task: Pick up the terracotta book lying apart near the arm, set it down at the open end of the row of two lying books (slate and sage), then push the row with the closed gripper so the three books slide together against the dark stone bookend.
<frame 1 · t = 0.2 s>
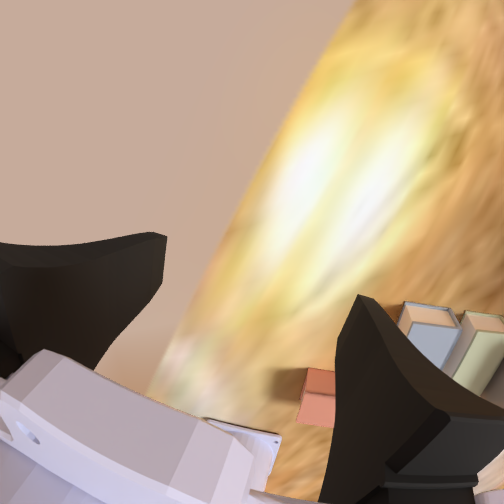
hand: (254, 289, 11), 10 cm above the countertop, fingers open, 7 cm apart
sage book: (466, 347, 21), on the countertop
slate book: (412, 341, 22), on the countertop
terracotta book: (343, 388, 25), on the countertop
stone bookend: (500, 351, 20), on the countertop
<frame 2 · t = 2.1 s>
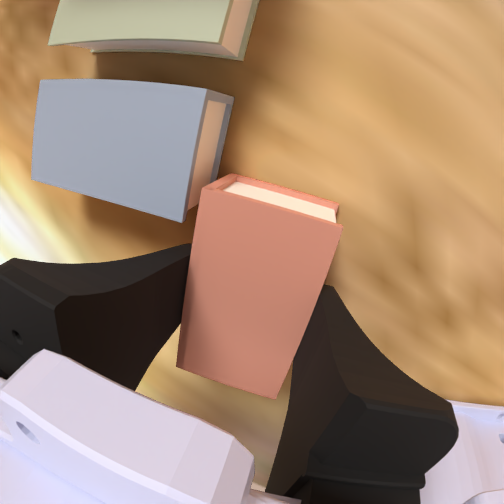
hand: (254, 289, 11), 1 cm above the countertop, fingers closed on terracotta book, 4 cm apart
sage book: (171, 9, 9), on the countertop
slate book: (143, 133, 12), on the countertop
terracotta book: (261, 272, 13), on the countertop, touching gripper
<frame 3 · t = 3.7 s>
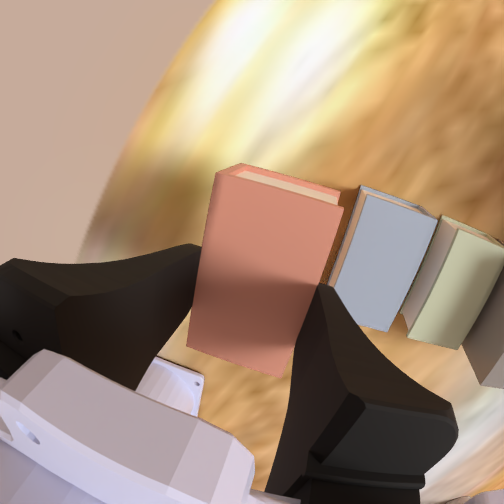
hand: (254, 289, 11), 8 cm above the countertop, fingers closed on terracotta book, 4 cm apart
sage book: (445, 273, 18), on the countertop
slate book: (372, 249, 18), on the countertop
terracotta book: (268, 256, 13), point 6 cm above the countertop, touching gripper
house plant: (460, 502, 28), on the countertop
stone bookend: (488, 290, 17), on the countertop
when the fingers open (3 cm above the countertop, at t = 4.9 s): terracotta book drops 1 cm, on the countertop.
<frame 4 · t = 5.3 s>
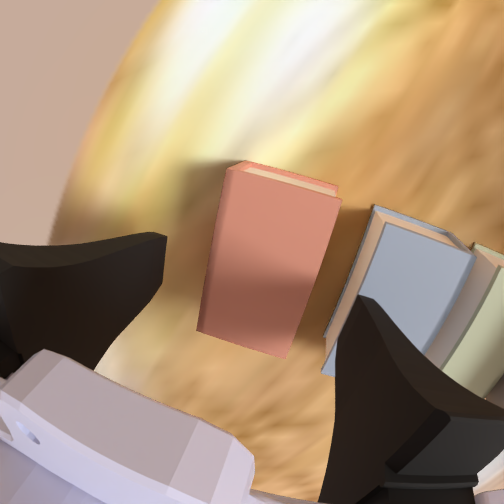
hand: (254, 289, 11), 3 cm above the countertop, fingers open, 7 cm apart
sage book: (472, 313, 13), on the countertop
slate book: (386, 286, 14), on the countertop
terracotta book: (272, 246, 15), on the countertop
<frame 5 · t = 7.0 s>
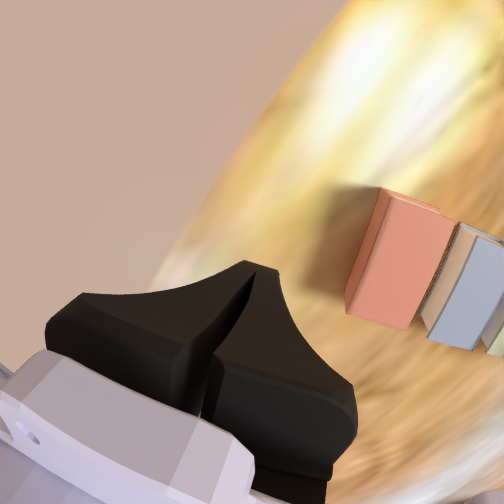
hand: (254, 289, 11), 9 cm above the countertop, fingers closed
slate book: (461, 278, 18), on the countertop
terracotta book: (391, 250, 19), on the countertop
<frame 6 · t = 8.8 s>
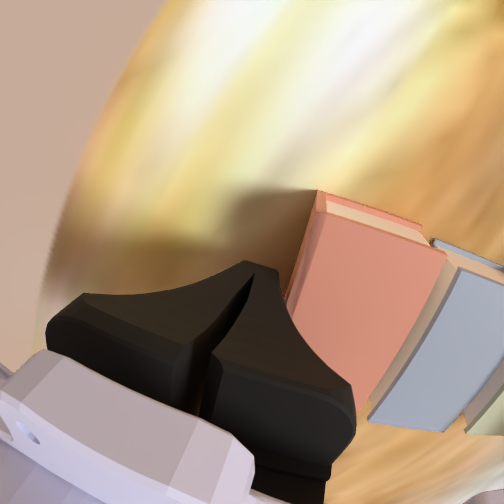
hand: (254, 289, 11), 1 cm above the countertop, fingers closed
slate book: (436, 324, 12), on the countertop
terracotta book: (340, 291, 12), on the countertop, touching gripper
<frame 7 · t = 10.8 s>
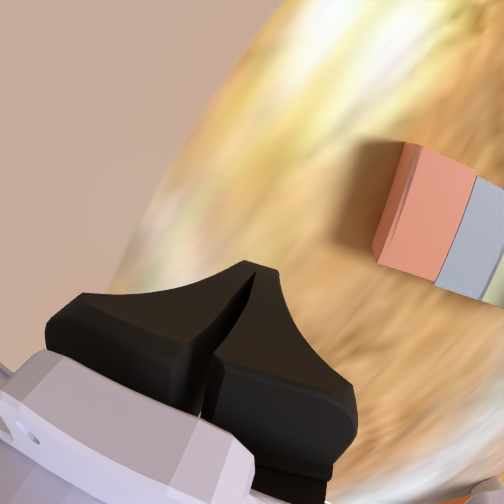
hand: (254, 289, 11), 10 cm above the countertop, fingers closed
sage book: (503, 245, 17), on the countertop
slate book: (464, 227, 18), on the countertop
terracotta book: (415, 204, 18), on the countertop
house plant: (489, 484, 28), on the countertop
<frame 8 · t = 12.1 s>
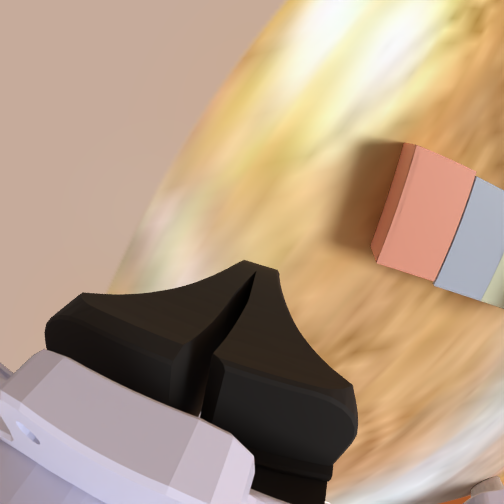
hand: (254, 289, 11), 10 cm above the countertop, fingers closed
sage book: (503, 245, 18), on the countertop
slate book: (463, 228, 18), on the countertop
terracotta book: (415, 204, 18), on the countertop
house plant: (489, 484, 28), on the countertop
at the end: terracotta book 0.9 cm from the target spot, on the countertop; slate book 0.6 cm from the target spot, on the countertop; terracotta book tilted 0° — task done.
